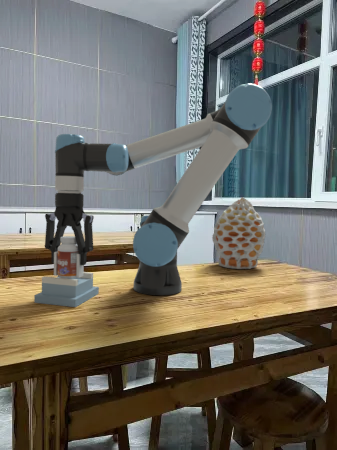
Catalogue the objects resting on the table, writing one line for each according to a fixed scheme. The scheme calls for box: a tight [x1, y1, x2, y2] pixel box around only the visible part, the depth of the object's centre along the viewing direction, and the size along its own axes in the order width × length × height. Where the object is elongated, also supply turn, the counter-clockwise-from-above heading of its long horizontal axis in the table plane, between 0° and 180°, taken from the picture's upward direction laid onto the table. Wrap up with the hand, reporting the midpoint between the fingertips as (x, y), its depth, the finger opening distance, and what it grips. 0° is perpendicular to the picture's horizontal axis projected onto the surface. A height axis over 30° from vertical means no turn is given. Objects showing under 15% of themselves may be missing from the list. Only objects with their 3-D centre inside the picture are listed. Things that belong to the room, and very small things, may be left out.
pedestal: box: [33, 271, 100, 308], centre depth 102 cm, size 12×14×6 cm
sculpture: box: [211, 197, 266, 270], centre depth 156 cm, size 21×22×30 cm
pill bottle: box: [57, 235, 79, 279], centre depth 101 cm, size 6×6×11 cm
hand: (68, 275), depth 102 cm, fingers closed on pill bottle, 6 cm apart
